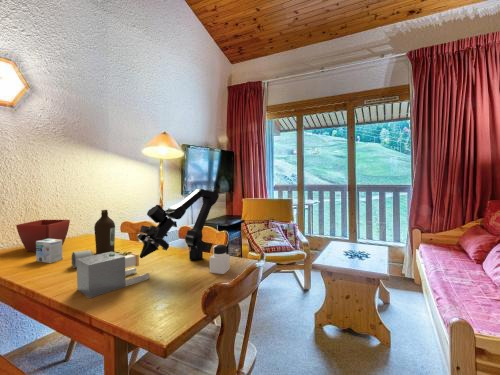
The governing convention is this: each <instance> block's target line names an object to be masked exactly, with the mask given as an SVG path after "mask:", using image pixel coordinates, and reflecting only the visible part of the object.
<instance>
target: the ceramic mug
mask: <svg viewBox="0 0 500 375" xmlns="http://www.w3.org/2000/svg"><path fill="white" fill-rule="evenodd" d="M93 255H94V252H93V251H92V250H89V249H88V250H79V251H73V252H72V254H71V266H72V268H73V269H77V259H78V258H83V257H88V256H93Z"/></svg>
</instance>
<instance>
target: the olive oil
mask: <svg viewBox="0 0 500 375" xmlns="http://www.w3.org/2000/svg"><path fill="white" fill-rule="evenodd" d="M100 216H101V217H99V218H98V220H97V221H96V222H95V223H94V227H93V228H94V238H95V240H94V241H95V242H94V243H95V253H96V254H95V255H97V254H102V253H107V252H114V253H115V244H116V242H115V241H116V240H115V239H116V237H115V236H116V224H115V221H114V220H113V219H112V218H110V217H109V212H108V209H101V213H100Z"/></svg>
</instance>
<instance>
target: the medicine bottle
mask: <svg viewBox="0 0 500 375" xmlns="http://www.w3.org/2000/svg"><path fill="white" fill-rule="evenodd" d="M230 257H231V256H230V254H228V253H227V246H226V245H224V244H222V243H220V244H215V245H214V246H213V247H212V255H211V256H209V273H211V274H220V275H224V274H226V273H227V272H228V271H229V270H230V269H231V268H230V267H231V266H230V264H231V263H230V260H231V259H230Z"/></svg>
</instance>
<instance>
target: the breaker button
mask: <svg viewBox="0 0 500 375" xmlns="http://www.w3.org/2000/svg"><path fill="white" fill-rule="evenodd" d="M123 256H124V257H125V269H127V268H130V267H135V268H137V267H139V266H140V257H139V256H140V254H139V253H136V252H130V254H128V255H123Z"/></svg>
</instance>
